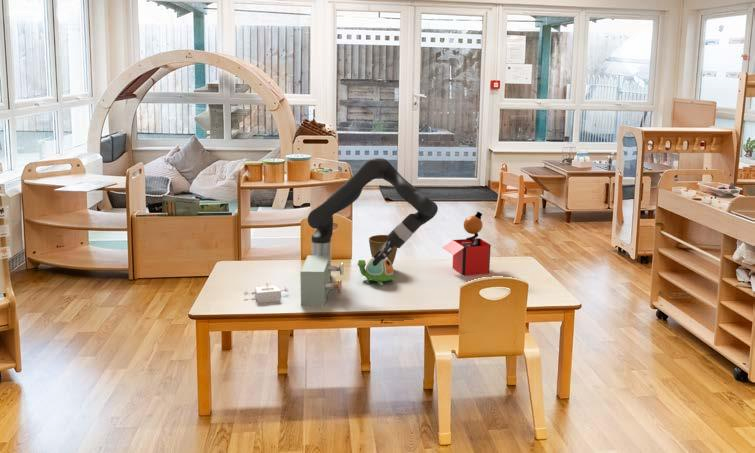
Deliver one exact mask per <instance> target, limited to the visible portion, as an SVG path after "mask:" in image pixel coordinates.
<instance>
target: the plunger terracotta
mask: <svg viewBox="0 0 755 453" xmlns="http://www.w3.org/2000/svg"><path fill="white" fill-rule="evenodd" d="M342 284H343V283H342V279H338V280H337V283H336V282H335V283H331V282H330V283H325V289H329V290H337V294H341V293H342Z"/></svg>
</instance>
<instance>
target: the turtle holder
mask: <svg viewBox="0 0 755 453" xmlns="http://www.w3.org/2000/svg"><path fill="white" fill-rule="evenodd" d="M374 260H375V259H374V258H373V257H372V256H371V259H370V260H368V262H367V264H366V260H364V259H359V260H358V262H357V266H358V267H359V272H360V275H362V276H364V277H365V278H366V283H367V284H371V281H372V282H373V281H374V282H377V285H379V286H384V283H383V282H387V281H388V282H394V280H393V278H394V266H393V265H392V264H391V262H390V260H389V259H388V258H387V257H386V258H385V259H384V260H381V261H380V262H379V263H378V264H377V265H375V264H374V263H373V261H374Z"/></svg>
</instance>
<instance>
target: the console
mask: <svg viewBox="0 0 755 453" xmlns="http://www.w3.org/2000/svg"><path fill="white" fill-rule="evenodd" d="M328 266H330V256H321V255H312V254H310V255H309V254H308V255H307V256H306V258H305V261H304V263H303V265H302V268H301V270H300V305H301V306H325V303H326V301H327V298H328V294H329V291H330V289H325V283H331V281H330V280H331V276H330V271H328Z"/></svg>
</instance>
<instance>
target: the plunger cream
mask: <svg viewBox="0 0 755 453" xmlns="http://www.w3.org/2000/svg"><path fill="white" fill-rule="evenodd" d="M344 270H345V269H344V262H341V261H340V264H339V265H331V266H328V271H331V272H339V275H340V276H342V275H343V276H344Z"/></svg>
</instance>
